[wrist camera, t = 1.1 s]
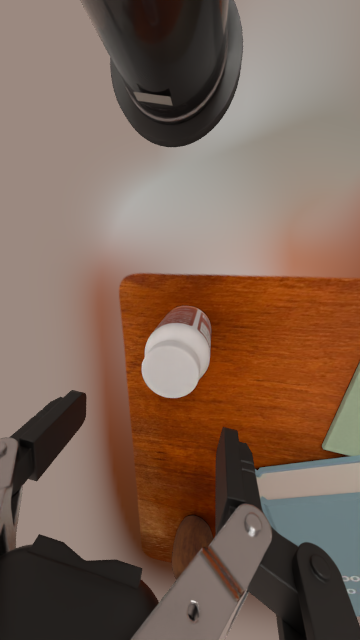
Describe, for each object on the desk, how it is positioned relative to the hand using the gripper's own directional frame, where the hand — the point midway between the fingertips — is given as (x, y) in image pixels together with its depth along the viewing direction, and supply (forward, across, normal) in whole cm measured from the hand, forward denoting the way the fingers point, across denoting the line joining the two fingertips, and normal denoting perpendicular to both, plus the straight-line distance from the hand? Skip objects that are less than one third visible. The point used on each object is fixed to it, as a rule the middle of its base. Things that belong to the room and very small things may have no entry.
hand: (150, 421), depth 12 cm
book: (+16, -24, +26) cm, 39 cm away
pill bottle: (+16, 0, 0) cm, 16 cm away
